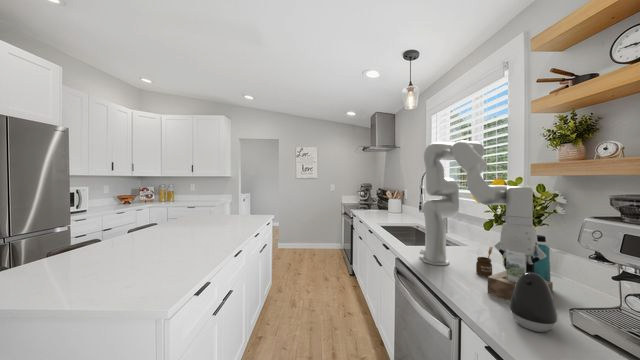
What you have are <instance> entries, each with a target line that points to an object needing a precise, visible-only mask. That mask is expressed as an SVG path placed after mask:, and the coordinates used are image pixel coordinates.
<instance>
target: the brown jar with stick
mask: <svg viewBox="0 0 640 360" xmlns="http://www.w3.org/2000/svg"><path fill="white" fill-rule="evenodd" d="M492 251H493V247H492V246H490V247H489V249H488V253H487V254H488V256H487V257H486V256H479V254H482V250H481V249H480V248H479V249H477V250H476V252H479V253H476V255H477V259H476V264H475V269H476V270H475V271H476V274H477V275H479V276H481V277H486V278H488V276H491V275H493V264H492V259H491V258H490V255H491V254H492Z"/></svg>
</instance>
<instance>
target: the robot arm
mask: <svg viewBox="0 0 640 360" xmlns="http://www.w3.org/2000/svg"><path fill="white" fill-rule="evenodd" d="M484 155H485V147H484V146H483V144H482V143H480V142H478V141H473V140H472V141H471V140H470V141H469V140H458V141H456V142H447V141H445V142H444V141H443V142H442V141H438V142H437V141H436V142H432V143H430V144H428V145H427V146H426V148H425V150H424V153H423V162H424V167H425V188H426V189H425V190H426V194H427V195H428V196H431V197H442V198H431V199H429V200H426V201H425V202H424V204H423V205H422V208H423V209H422V210H423V215H424V225H425V228H424V229H425V232H424V233H425V235H424V237H425V239H424V240H425V241H424V242H425V246H424V247H425V248H424V249H420V251H419V254H420V255H423V256H422V258H421V261H423V262H424V263H426V264H428V265H433V266H447V265H449V264H450V260H449V259H448V258H447V227H446V226H447V225H446V224H445V222H444V220H443V219H444V218H445V219H446V218H454V217H456V216H457V215H458V213H459V210H460V197H459V195H460V191H459V189H460V188H459V184H458V183H457V181H456V180H455V179H454V178H452V177H445V168H444V165H443V163H442V162H441V161H442V160H445V161H456V163H458V165H459V166H460V167H461V169H462V170H463V171H464V172H465V174H466V176H465V182H466V183H465V184H466V187H467V189H468V191H469V192H470V193H471V194H472V196H473V197H474V198H475V200H476V201H477V202H478V203H480V204H482V205H484V206H502V205H505V215H502V216H501V219H502V220H504V221H505V222H503V223H502V227H501V231H500V238H499V239H500V240H499V241H498V243H496V244H495V245H494V248H495V249H496V250H497V251H498V252H499V253H500V255H502V258H503V259H504V260H503V265H504V270H506V249H509V250H511V251H515V252H520V253H525V256H527V261H528V263H527V264H526V273H527V272H533V273H534V263H536V262H538V261H539V260H541V259H543V258H545V257H546V254H545V253H544V252H543V251H542V250H541V249H540V248H539V247H538V243H539V242H538V241H537V235H538V234H537V230H536V226H535V225H533V221H534V220H533V219H534V218H533V216H534V212H533V211H534V203H533V201H534V199H533V198H534V197H533V195H534V191H533V189H532V188H531V186H517V185H515V186H513V185H512V186H511V185H505V184H504V185H503V184H488V183H487V182H486V181H485V180H484V178H483V177H482V176H481V174H482V173H483V172H484V171H485V170H486V168H487V166H488V164H487V162H486V160H485V159H484V158H483V156H484ZM537 253H538V256H537V257H535V258H534V254H537Z"/></svg>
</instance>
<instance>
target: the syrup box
mask: <svg viewBox="0 0 640 360" xmlns="http://www.w3.org/2000/svg"><path fill="white" fill-rule="evenodd" d="M527 263H528V261H527V256H525V253H520V252H515V251H511V250H509V249H506V269H505V271H506V280H510V281H513V282H517V281H518V279H519V278H520V276H521V275H522V274H524V273H526V264H527Z"/></svg>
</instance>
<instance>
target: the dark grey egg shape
mask: <svg viewBox="0 0 640 360" xmlns="http://www.w3.org/2000/svg"><path fill="white" fill-rule="evenodd" d="M509 303H510V304H509V308H510V309H509V310H510V311H511V315H512V317H513V319H514V320H515V321H516V322H517V323H518V324H519V325H520V326H521V327H523V328H525V329H527V330H530V331H533V332H537V333H546V332H549V331H550V330H552V329H553V328H554V327H555V324H556V323H557V321H558V314H557V313H558V312H557V308H556V304H555V301H554V297H552V294H551V291H550V289H549V287H548V285H547V283H546V282H545V280H544V279H543V278H542V277H541V276H540V275H538V274H536V273H533V272H527V273H524V274H522V275H521V276H520V278H519V279H518V281H517V282H516V285H515V287H514V290H513V293H512V297H511V301H509Z"/></svg>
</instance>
